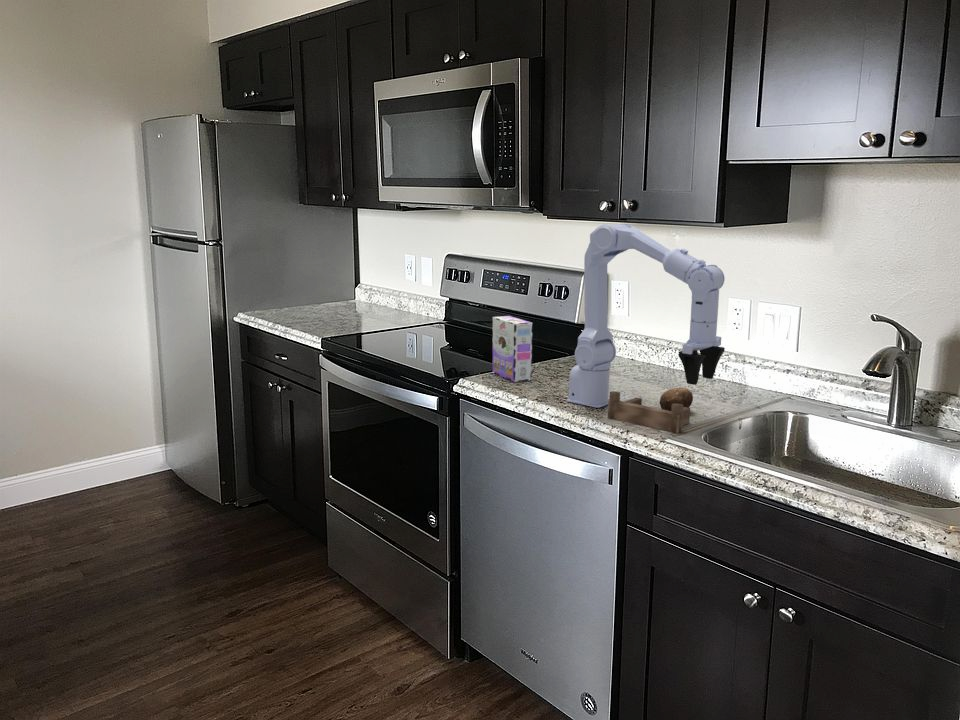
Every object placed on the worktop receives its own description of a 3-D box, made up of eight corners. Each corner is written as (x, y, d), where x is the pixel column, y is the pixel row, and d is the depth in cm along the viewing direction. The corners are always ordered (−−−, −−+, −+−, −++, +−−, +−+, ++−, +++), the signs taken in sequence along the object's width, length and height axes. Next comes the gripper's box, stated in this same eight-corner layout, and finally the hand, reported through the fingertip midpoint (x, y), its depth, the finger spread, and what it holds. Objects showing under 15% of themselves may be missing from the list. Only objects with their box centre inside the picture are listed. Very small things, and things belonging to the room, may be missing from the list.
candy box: (532, 381, 229) (533, 321, 225) (513, 383, 226) (514, 323, 223) (509, 371, 241) (510, 314, 238) (491, 372, 238) (491, 315, 235)
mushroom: (690, 393, 203) (682, 376, 199) (702, 413, 196) (694, 396, 193) (660, 408, 204) (652, 390, 201) (671, 428, 198) (662, 411, 194)
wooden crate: (606, 417, 193) (607, 392, 192) (627, 409, 200) (628, 385, 199) (678, 433, 181) (679, 406, 180) (698, 424, 188) (699, 399, 187)
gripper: (705, 327, 175) (701, 389, 178) (735, 319, 186) (731, 378, 189) (675, 323, 180) (671, 384, 183) (706, 315, 191) (702, 373, 193)
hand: (699, 381), depth 186 cm, fingers open, 7 cm apart
